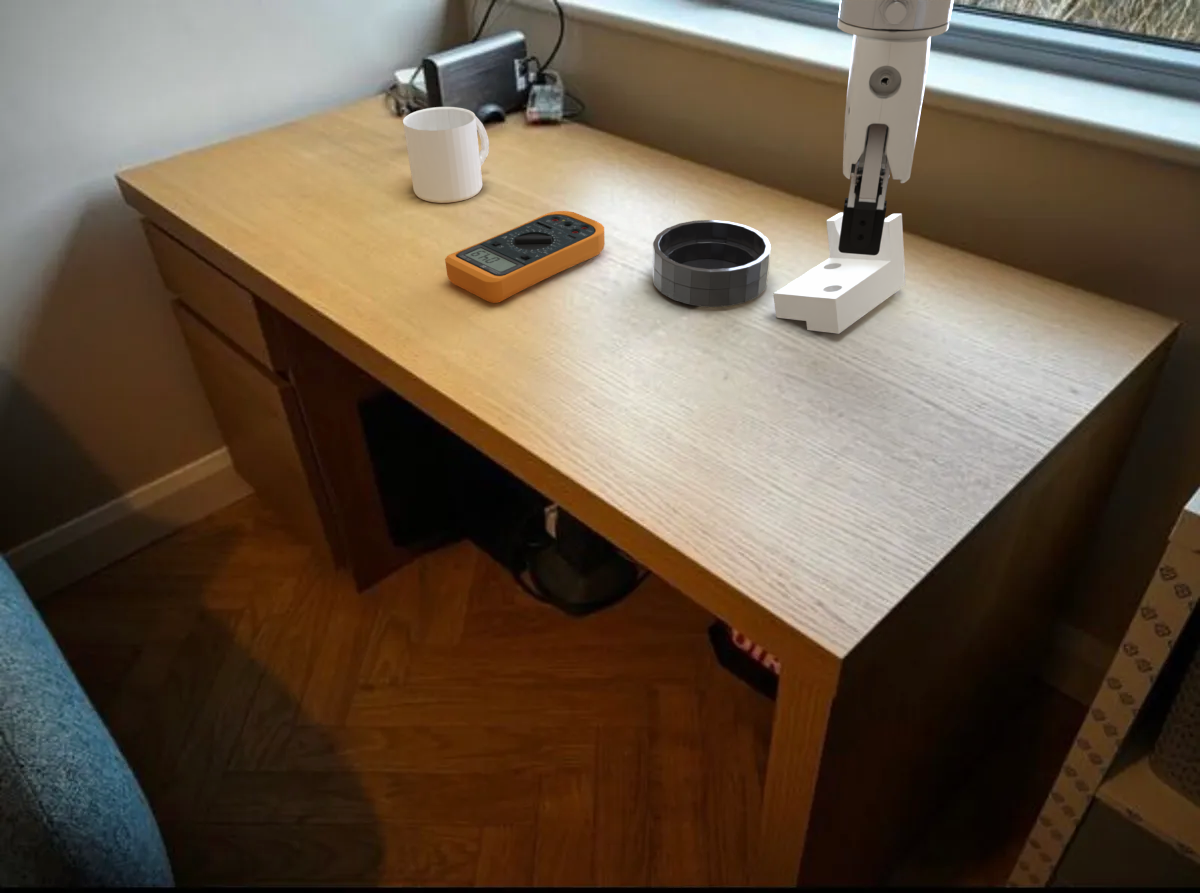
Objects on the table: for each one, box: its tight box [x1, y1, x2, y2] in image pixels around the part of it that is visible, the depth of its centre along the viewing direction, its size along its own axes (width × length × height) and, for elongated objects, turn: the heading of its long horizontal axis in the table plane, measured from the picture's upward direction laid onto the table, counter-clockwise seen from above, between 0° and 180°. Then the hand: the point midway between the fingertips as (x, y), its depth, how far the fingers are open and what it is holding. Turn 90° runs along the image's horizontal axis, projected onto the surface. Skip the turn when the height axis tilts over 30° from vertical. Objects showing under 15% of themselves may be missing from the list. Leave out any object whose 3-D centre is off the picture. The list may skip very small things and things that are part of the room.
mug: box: [402, 106, 490, 204], centre depth 117 cm, size 12×9×9 cm
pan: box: [651, 219, 772, 308], centre depth 96 cm, size 12×12×4 cm
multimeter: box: [444, 210, 606, 304], centre depth 100 cm, size 9×18×3 cm, turn 136°
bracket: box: [772, 212, 907, 335], centre depth 91 cm, size 13×7×8 cm, turn 137°
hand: (858, 249), depth 73 cm, fingers closed
